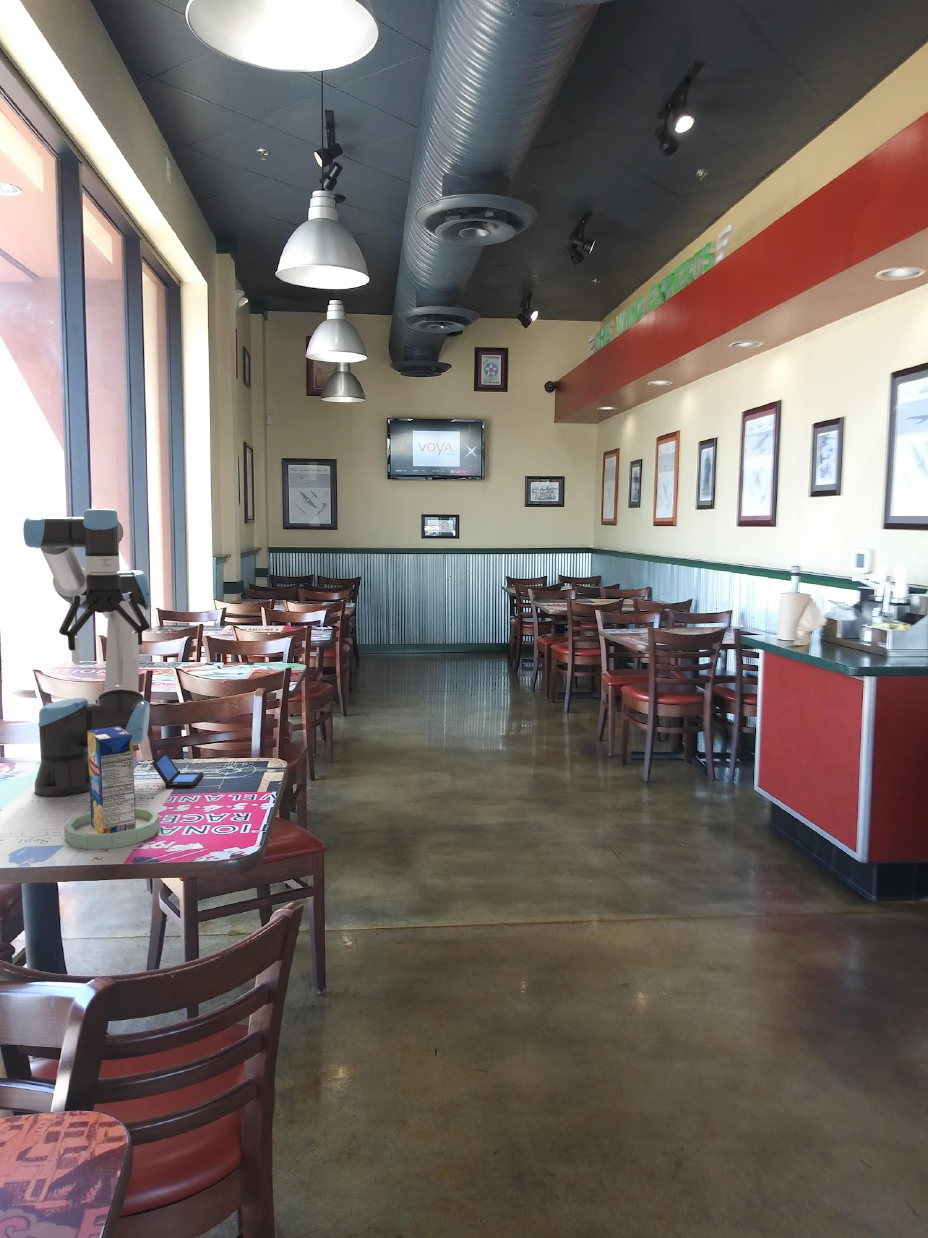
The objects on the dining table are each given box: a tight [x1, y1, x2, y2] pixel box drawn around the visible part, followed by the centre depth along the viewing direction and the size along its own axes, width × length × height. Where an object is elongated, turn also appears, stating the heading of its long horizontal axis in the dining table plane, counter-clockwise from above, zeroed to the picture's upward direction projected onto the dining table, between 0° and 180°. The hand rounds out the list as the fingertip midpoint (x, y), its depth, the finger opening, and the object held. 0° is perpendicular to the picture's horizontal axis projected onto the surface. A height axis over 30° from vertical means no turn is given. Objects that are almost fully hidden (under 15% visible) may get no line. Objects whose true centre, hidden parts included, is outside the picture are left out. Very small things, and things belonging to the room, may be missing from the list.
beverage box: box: [87, 726, 136, 833], centre depth 190 cm, size 7×11×22 cm, turn 36°
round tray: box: [64, 806, 161, 850], centre depth 191 cm, size 19×19×3 cm
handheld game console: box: [152, 751, 204, 789], centre depth 230 cm, size 12×11×7 cm
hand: (106, 661), depth 206 cm, fingers open, 13 cm apart
